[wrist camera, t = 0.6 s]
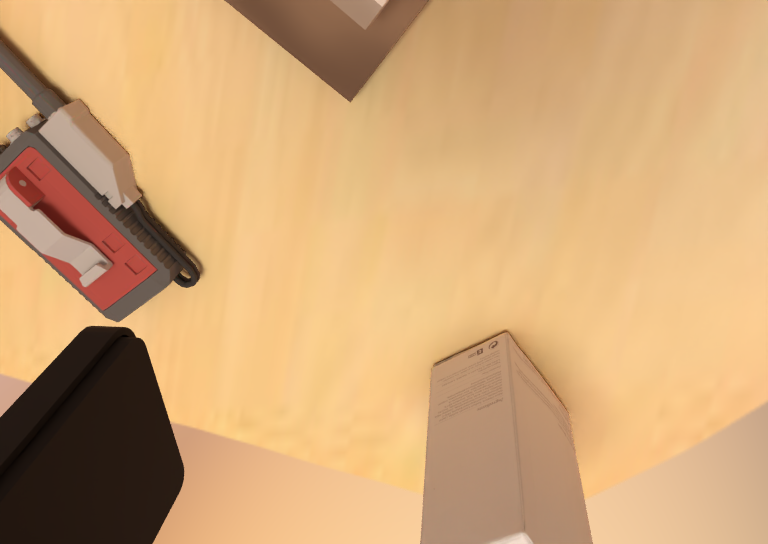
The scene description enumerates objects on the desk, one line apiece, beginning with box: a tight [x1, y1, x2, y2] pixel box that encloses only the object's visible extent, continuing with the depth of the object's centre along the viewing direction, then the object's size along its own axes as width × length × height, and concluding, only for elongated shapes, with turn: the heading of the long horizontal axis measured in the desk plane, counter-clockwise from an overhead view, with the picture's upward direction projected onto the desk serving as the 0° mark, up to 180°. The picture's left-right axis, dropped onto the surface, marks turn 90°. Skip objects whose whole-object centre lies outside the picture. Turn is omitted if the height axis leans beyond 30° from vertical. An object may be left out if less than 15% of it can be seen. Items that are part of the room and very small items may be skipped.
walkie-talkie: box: [0, 39, 200, 322], centre depth 37 cm, size 9×4×20 cm
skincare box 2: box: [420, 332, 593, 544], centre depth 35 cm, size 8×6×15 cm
